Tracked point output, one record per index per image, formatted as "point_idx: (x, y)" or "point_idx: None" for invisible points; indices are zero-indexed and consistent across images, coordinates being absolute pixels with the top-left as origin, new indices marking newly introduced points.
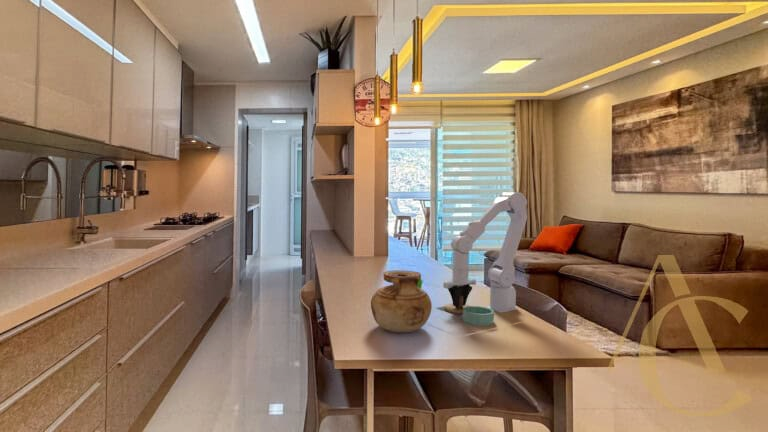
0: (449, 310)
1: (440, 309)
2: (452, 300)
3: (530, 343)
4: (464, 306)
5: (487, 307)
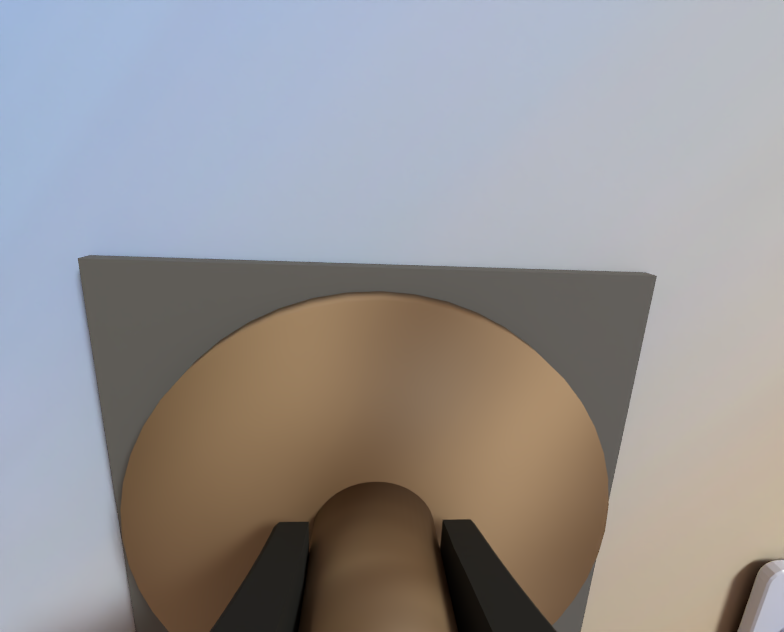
0: (130, 559)
1: (102, 371)
2: (234, 601)
3: None
4: (496, 526)
5: (767, 610)
